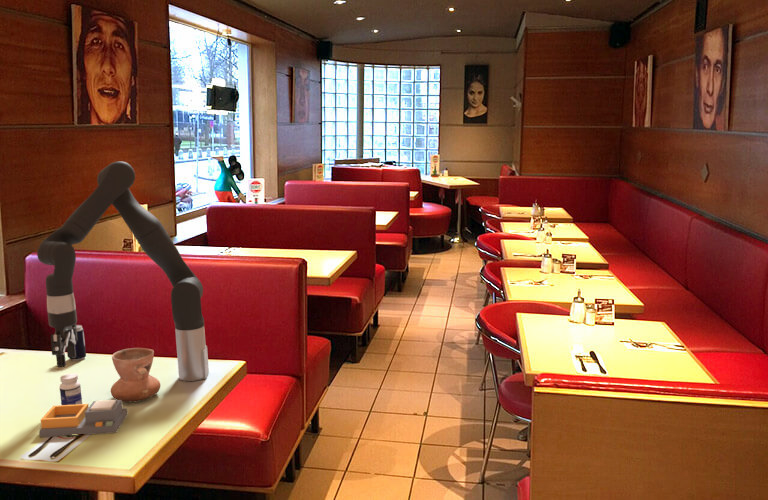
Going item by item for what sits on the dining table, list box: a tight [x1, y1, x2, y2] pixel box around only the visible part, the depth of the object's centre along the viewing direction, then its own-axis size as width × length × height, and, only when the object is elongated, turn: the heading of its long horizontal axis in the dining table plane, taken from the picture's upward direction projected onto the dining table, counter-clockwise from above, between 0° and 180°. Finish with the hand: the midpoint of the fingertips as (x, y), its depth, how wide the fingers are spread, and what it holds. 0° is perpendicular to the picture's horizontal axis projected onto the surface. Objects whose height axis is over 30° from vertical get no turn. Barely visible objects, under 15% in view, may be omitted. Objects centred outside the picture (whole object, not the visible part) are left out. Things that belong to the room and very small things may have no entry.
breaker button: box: [90, 399, 117, 411], centre depth 198 cm, size 5×5×4 cm
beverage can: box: [69, 324, 87, 362], centre depth 254 cm, size 6×6×12 cm
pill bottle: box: [59, 372, 83, 405], centre depth 210 cm, size 6×6×10 cm
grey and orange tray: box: [38, 399, 128, 438], centre depth 197 cm, size 20×12×6 cm, turn 95°
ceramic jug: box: [110, 347, 161, 403], centre depth 217 cm, size 18×14×14 cm
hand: (66, 362), depth 209 cm, fingers open, 8 cm apart
